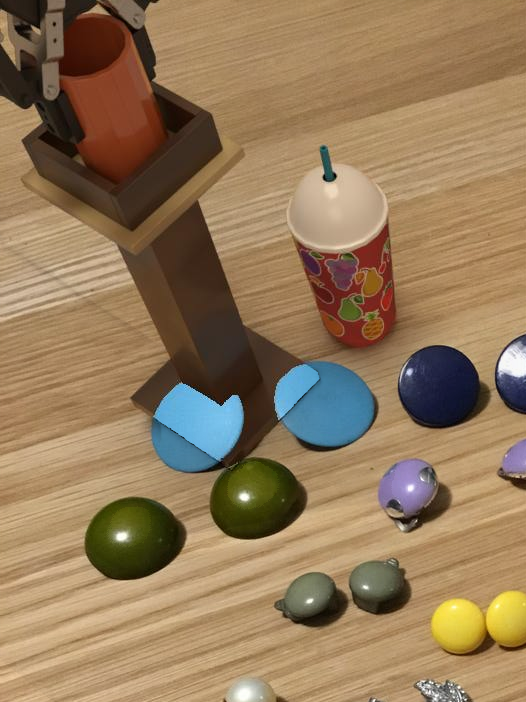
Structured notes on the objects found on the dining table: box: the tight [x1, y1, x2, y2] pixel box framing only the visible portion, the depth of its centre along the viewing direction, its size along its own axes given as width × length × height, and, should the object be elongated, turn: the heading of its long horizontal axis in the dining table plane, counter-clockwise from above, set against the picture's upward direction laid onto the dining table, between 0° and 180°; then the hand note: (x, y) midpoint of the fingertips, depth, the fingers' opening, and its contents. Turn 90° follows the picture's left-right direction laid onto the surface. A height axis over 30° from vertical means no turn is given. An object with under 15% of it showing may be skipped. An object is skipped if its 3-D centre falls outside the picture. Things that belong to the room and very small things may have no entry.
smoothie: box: [285, 144, 397, 348], centre depth 94 cm, size 8×8×20 cm
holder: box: [19, 80, 307, 469], centre depth 88 cm, size 12×12×29 cm
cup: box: [59, 12, 170, 186], centre depth 73 cm, size 6×6×9 cm
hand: (107, 105), depth 73 cm, fingers closed on cup, 6 cm apart
